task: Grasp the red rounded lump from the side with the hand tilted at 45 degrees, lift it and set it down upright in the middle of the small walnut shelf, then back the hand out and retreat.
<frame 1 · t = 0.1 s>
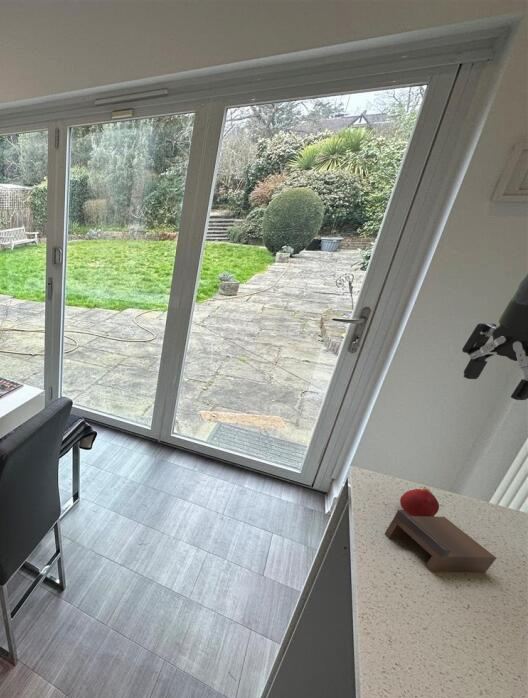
hand: (492, 388, 75), 31 cm above the countertop, tool pointing down, fingers open, 8 cm apart
red rounded lump: (410, 517, 88), on the countertop
shelf: (430, 554, 79), on the countertop
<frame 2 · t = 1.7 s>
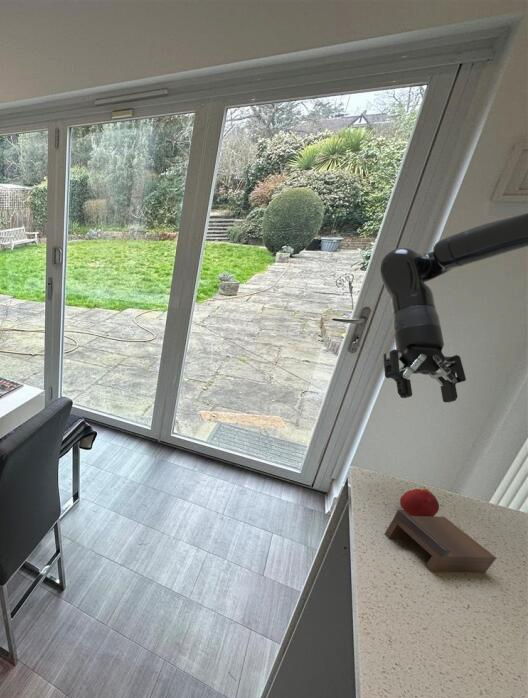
hand: (428, 399, 87), 23 cm above the countertop, tool tilted 45°, fingers open, 8 cm apart
nothing on the countertop moved.
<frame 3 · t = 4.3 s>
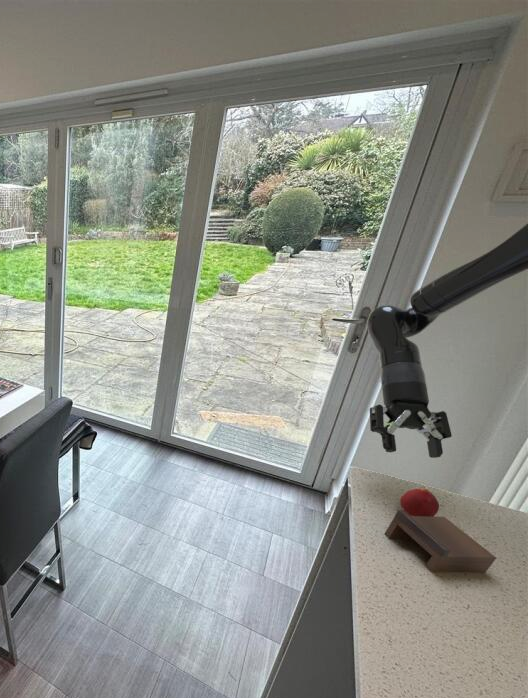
hand: (413, 454, 90), 11 cm above the countertop, tool tilted 45°, fingers open, 8 cm apart
nothing on the countertop moved.
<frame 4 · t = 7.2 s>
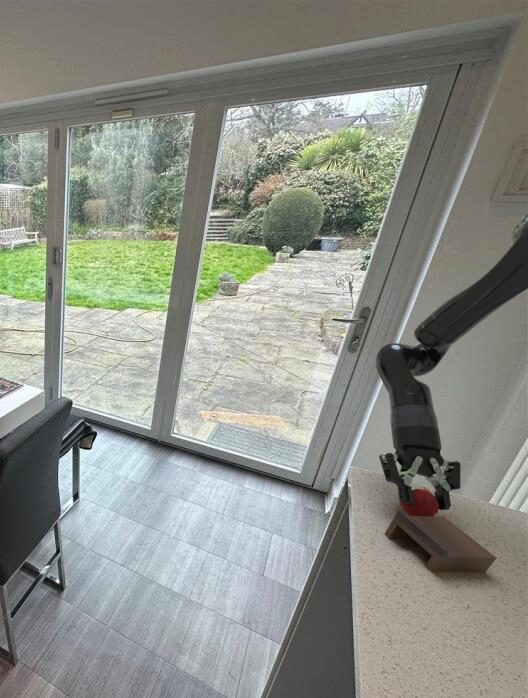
hand: (425, 506, 85), 4 cm above the countertop, tool tilted 45°, fingers closed on red rounded lump, 5 cm apart
red rounded lump: (410, 517, 88), on the countertop, touching gripper
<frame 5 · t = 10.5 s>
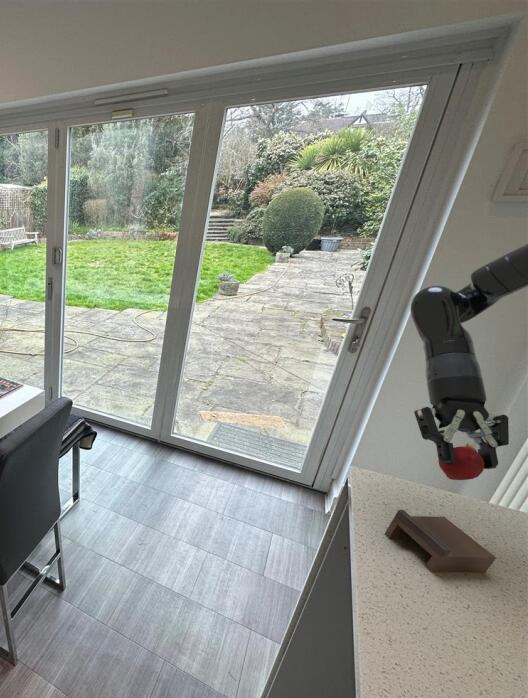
hand: (468, 465, 75), 18 cm above the countertop, tool tilted 45°, fingers closed on red rounded lump, 5 cm apart
red rounded lump: (450, 479, 79), point 13 cm above the countertop, touching gripper
when the fingers open (9 cm above the countertop, at t = 14.3 s): red rounded lump stays where it is, resting on shelf.
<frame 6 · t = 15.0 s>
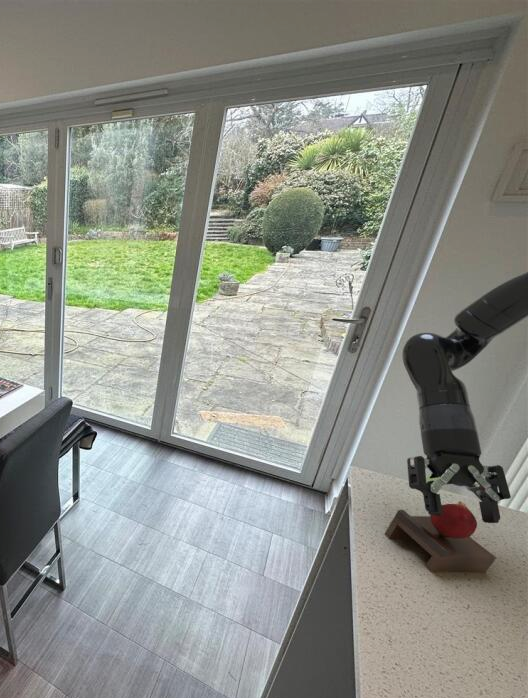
hand: (463, 518, 73), 10 cm above the countertop, tool tilted 45°, fingers open, 8 cm apart
red rounded lump: (442, 536, 77), point 5 cm above the countertop, touching shelf
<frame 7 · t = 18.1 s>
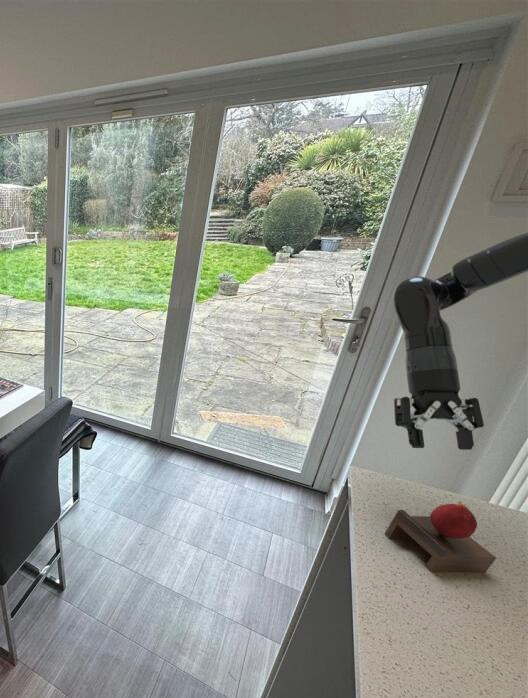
hand: (441, 448, 82), 17 cm above the countertop, tool tilted 35°, fingers open, 8 cm apart
nothing on the countertop moved.
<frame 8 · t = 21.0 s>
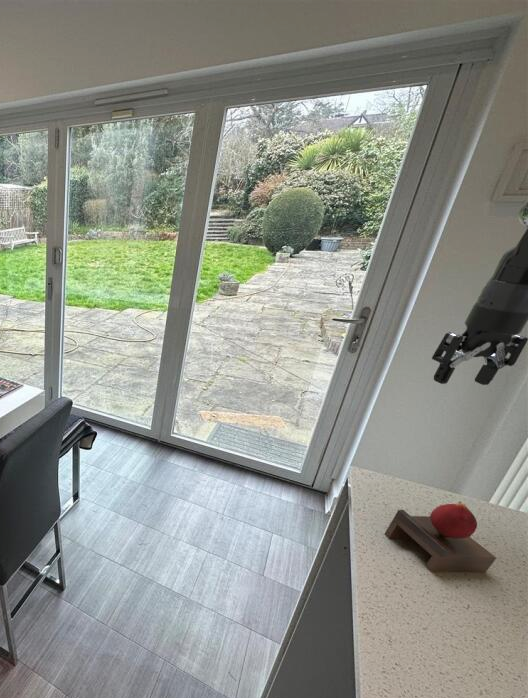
hand: (460, 382, 84), 28 cm above the countertop, tool pointing down, fingers open, 8 cm apart
nothing on the countertop moved.
at the end: red rounded lump inside the target area on the shelf (0.1 cm from its centre), point 4.8 cm above the shelf's base; red rounded lump tilted 0°; the gripper is holding nothing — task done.
